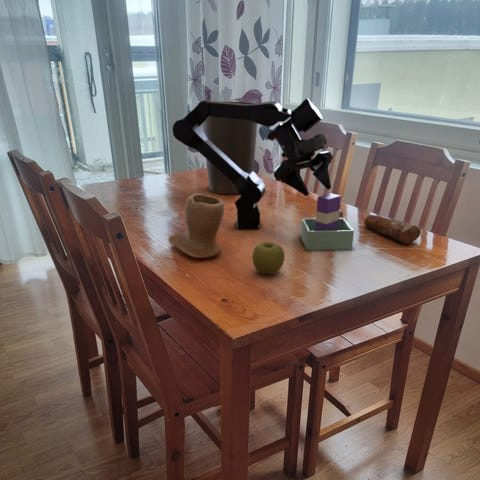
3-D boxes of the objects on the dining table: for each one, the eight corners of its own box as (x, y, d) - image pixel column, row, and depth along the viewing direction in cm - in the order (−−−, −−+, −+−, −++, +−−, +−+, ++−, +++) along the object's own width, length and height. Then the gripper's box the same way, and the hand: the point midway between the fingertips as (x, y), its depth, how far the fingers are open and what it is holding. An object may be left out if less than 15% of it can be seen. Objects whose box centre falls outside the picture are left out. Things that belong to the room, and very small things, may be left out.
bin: (306, 250, 127) (308, 231, 124) (300, 236, 137) (301, 218, 134) (351, 249, 127) (353, 230, 125) (342, 235, 137) (344, 217, 134)
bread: (403, 247, 128) (407, 228, 126) (359, 227, 143) (362, 209, 141) (421, 243, 131) (425, 224, 128) (376, 224, 146) (378, 206, 143)
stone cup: (233, 255, 124) (232, 199, 117) (193, 265, 119) (189, 206, 111) (205, 238, 135) (203, 186, 128) (168, 246, 130) (163, 192, 123)
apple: (260, 281, 110) (261, 253, 107) (246, 268, 117) (246, 241, 113) (289, 276, 113) (290, 248, 109) (274, 263, 119) (274, 237, 116)
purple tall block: (314, 240, 131) (317, 196, 125) (326, 236, 134) (330, 192, 128) (324, 244, 129) (328, 199, 123) (336, 239, 132) (341, 195, 126)
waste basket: (196, 182, 191) (192, 101, 176) (243, 178, 197) (243, 100, 182) (215, 200, 169) (212, 109, 154) (267, 195, 175) (269, 106, 160)
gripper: (283, 127, 117) (314, 180, 116) (330, 119, 128) (359, 168, 126) (260, 155, 126) (289, 205, 125) (307, 146, 137) (333, 191, 135)
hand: (318, 191), depth 128 cm, fingers open, 9 cm apart
